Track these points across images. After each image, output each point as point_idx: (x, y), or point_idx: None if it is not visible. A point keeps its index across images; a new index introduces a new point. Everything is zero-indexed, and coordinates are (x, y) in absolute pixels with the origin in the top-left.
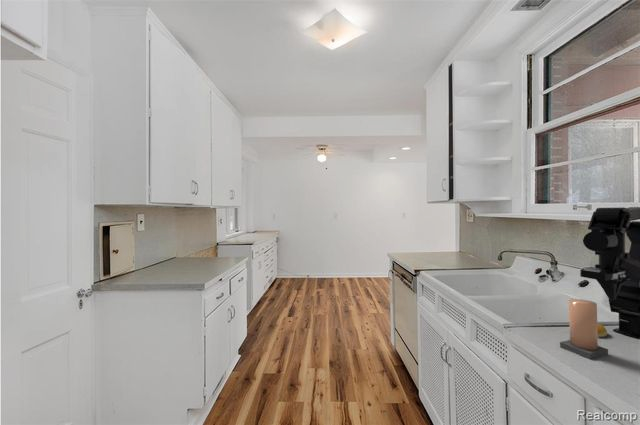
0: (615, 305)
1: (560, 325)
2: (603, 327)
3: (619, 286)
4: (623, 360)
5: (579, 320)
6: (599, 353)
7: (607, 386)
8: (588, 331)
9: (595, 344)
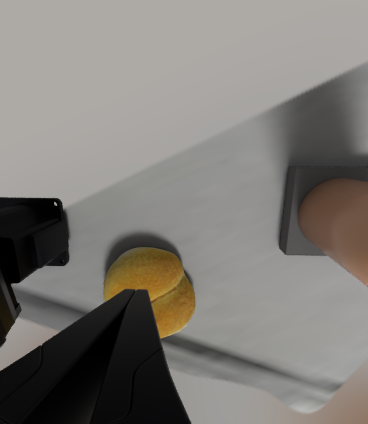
0: (10, 310)
1: (177, 343)
2: (131, 265)
3: (26, 385)
4: (292, 125)
5: None
6: (337, 167)
7: None
8: None
9: (356, 180)
